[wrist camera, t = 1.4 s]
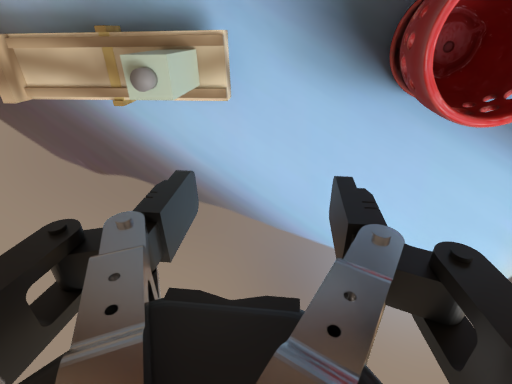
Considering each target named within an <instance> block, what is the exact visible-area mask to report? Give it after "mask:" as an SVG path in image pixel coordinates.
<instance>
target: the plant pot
mask: <svg viewBox="0 0 512 384" xmlns="http://www.w3.org/2000/svg"><path fill="white" fill-rule="evenodd" d="M390 67H391V71H392V74H393V76H394V78H395V80H396V82H397V83H398V85H399V86H400V87H401V88H402V89H403V90H404V91H405V92H407V93H408V94H410V95H411V96H413V97H415V98H416V99H417V100H418V101H419V102H420V103H421V104H423V105H424V106H425V107H426V108H428V109H430V110H431V111H433V112H434V113H436V114H438V115H439V116H441V117H443V118H445V119H447V120H449V121H452V122H454V123H457V124H460V125H464V126H469V127H494V126H500V125H504V124H508V123H511V122H512V99H506V98H507V97H508V96H510V95H511V94H512V0H417V1H416V2H415V3H414V4H413V5H412V6H411V7H410V8H409V9H408V11H407V12H406V13H405V15H404V16H403V17H402V19H401V21H400V22H399V24H398V26H397V28H396V30H395V33H394V36H393V39H392V42H391V47H390ZM494 98H495V99H494ZM489 99H494V100H493V101H490V102H485V101H487V100H489ZM490 110H493V111H490ZM486 111H490V112H486Z"/></svg>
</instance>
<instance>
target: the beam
mask: <svg viewBox="0 0 512 384" xmlns="http://www.w3.org/2000/svg"><path fill="white" fill-rule="evenodd" d="M94 28H95V32H86V33H30V34H0V96H1V98H2V100H3V102H4V103H19V102H23V101H27V100H31V99H85V100H113V103H114V106H125V105H127V104H129V103H132V102H134V101H136V100H130V98H129V94H128V89H127V85H126V80H125V76H124V71H123V67H122V62H121V58H120V55H123V54H130V53H138V52H145V51H152V50H161V49H196V54H197V63H198V73H199V82H200V85H199V86H198V87H196V88H194V89H192V90H191V91H189V92H187V93H185V94H184V95H182V96H180V97H178V98H177V99H175V100H187V101H228V100H229V99H230V98H231V87H230V69H229V51H228V33H227V30H197V31H141V32H121V28H120V26H106V25H103V26H94Z"/></svg>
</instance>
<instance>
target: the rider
mask: <svg viewBox="0 0 512 384" xmlns="http://www.w3.org/2000/svg"><path fill="white" fill-rule="evenodd" d="M120 58H121V62H122V67H123V71H124V76H125V80H126V85H127V89H128V94H129V98H130V100H175V99H177V98H178V97H180V96H182V95H184V94H185V93H187V92H189V91H191V90H192V89H194V88H196V87H198V86H199V85H200V82H199V73H198V63H197V54H196V49H161V50H152V51H145V52H138V53H130V54H123V55H120Z"/></svg>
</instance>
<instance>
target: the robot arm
mask: <svg viewBox="0 0 512 384" xmlns="http://www.w3.org/2000/svg"><path fill="white" fill-rule="evenodd" d="M198 204H199V202H198V194H197V186H196V179H195V174H194V172H193V171H182V170H176V171H175V172H174V173H173V174H172V176H171V177H170V178H169V179H168V180H164V181H162V182H161V183H159V184H157V185H155V187H154V188H153V189H152V190H151V191H150V193H148V195H146V198H144V199H143V200H142V201H141V202H140V203H139V204H138V205H137V207H136V208H135V209H134V210H133V211H128V212H123V213H119V214H116V215H114V216H112V217H111V218H109V219H108V220H107V221H106V222H105V223H104V226H103V228H97V229H90V230H83V229H82V226H81V224H80V222H79V221H78V220H75V219H63V220H59V221H55V222H52V223H50V224H48V225H46V226H44V227H42V228H41V229H40V230H38V231H36V232H35V233H33V234H32V235H30V236H29V237H27V238H26V239H24V240H23V241H21V242H20V243H19V244H17V245H16V246H14V247H13V248H11V249H10V250H8V251H7V252H5V253H4V254H2V255H1V256H0V384H12V383H13V382H14V381H15V380H16V379H17V378H18V377H19V376H20V375H21V374H22V372H23V371H24V370H25V369H26V368H27V367H28V366H29V365H30V364H31V363H32V362H33V360H34V359H35V358H36V357H37V356H38V355H39V354H40V353H41V352H42V351H43V350H44V348H45V347H46V346H47V345H48V344H49V343H50V342H51V341H52V339H54V337H55V336H56V335H57V334H58V333H59V332H60V331H61V330H62V329H63V328H64V326H65V325H66V324H67V323H68V322H69V321H70V320H71V319H72V318H73V317H74V315H75V314H76V313H77V312H78V315H77V319H76V324H75V329H74V334H73V338H72V343H71V347H70V349H69V351H67V352H65V353H64V354H62V355H61V356H59V357H58V358H56V359H55V360H53V361H52V362H50V363H49V364H47V365H46V366H44V367H43V368H41V369H40V370H38V371H37V372H35V373H34V374H32V375H31V376H29V377H28V378H26V379H25V380H23V381H22V382H20V383H19V384H382V383H381V381H380V380H379V379H378V378H377V377H376V376H375V375H374V374H373V372H372V371H371V370H370V369H369V368H368V367H367V366H366V365H367V362H368V359H369V356H370V352H371V349H372V346H373V343H374V340H375V337H376V333H377V330H378V327H379V324H380V321H381V318H382V315H383V312H384V309H385V306H386V305H388V306H391V307H393V308H396V309H400V310H402V311H405V312H408V313H411V314H412V316H413V318H414V320H415V322H416V324H417V326H418V327H419V329H420V331H421V333H422V335H423V336H424V338H425V340H426V342H427V344H428V345H429V347H430V349H431V351H432V353H433V354H434V356H435V358H436V360H437V362H438V364H439V366H440V367H441V369H442V371H443V373H444V374H445V376H446V378H447V380H448V382H449V384H512V283H511V282H510V281H509V280H508V279H507V278H506V277H505V276H504V275H503V274H502V273H501V272H500V271H499V270H498V269H497V268H496V267H495V266H494V265H493V264H492V263H491V262H489V261H488V260H487V259H486V258H485V257H484V256H483V255H482V254H481V253H480V252H478V251H477V250H475V249H473V248H471V247H469V246H466V245H464V244H460V243H456V242H440V243H438V244H436V245H435V247H434V249H433V252H431V251H427V250H423V249H420V248H416V247H412V246H409V245H407V244H405V241H404V238H403V236H402V235H401V234H400V233H399V232H398V231H396V230H394V229H393V228H390V227H388V226H387V224H386V222H385V220H384V218H383V216H382V214H381V212H380V209H379V207H378V205H377V203H376V201H375V199H374V197H373V195H372V194H371V193H370V192H368V191H367V190H366V189H364V188H357V187H356V185H355V182H354V180H353V177H341V176H334V179H333V185H332V193H331V201H330V209H329V220H330V226H331V232H332V237H333V243H334V248H335V254H336V261H335V263H334V264H333V266H332V267H331V269H330V271H329V273H328V274H327V276H326V277H325V279H324V281H323V282H322V284H321V286H320V287H319V289H318V291H317V293H316V294H315V296H314V297H313V299H312V301H311V302H310V304H309V306H308V307H307V309H306V311H303V310H300V299H298V298H286V297H274V296H261V297H254V298H246V299H238V300H228V299H225V298H222V297H219V296H216V295H213V294H210V293H207V292H203V291H201V290H190V289H178V288H169V289H168V291H167V293H166V295H165V297H164V298H161V295H160V284H159V273H158V269H157V265H158V264H159V262H171V261H172V259H173V257H174V255H175V254H176V251H177V250H178V248H179V246H180V244H181V242H182V240H183V239H184V236H185V235H186V233H187V231H188V229H189V227H190V226H191V224H192V222H193V220H194V218H195V216H196V214H197V212H198ZM50 269H51V271H52V273H53V275H54V277H55V279H56V282H55V283H54V284H53V285H52V286H50V287H49V288H48V289H47V290H46V291H45V292H44V293H43V294H42V295H40V296H39V298H37V299H36V300H35V301H34V302H33V303H32V304H31V305H28V303H27V301H26V293H27V291H28V289H29V288H30V286H31V285H32V284H33V283H35V282H36V281H37V280H38V279H39V278H40V277H42V276H43V275H44V274H45V273H47V272H48V271H49V270H50ZM465 315H466V316H467V318H468V319H469V320H470V322H471V323H472V325H473V326H474V327H473V326H472V325H471V323H470V322H469V320H468V319H467V318H466V316H465ZM474 328H475V329H474Z"/></svg>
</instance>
